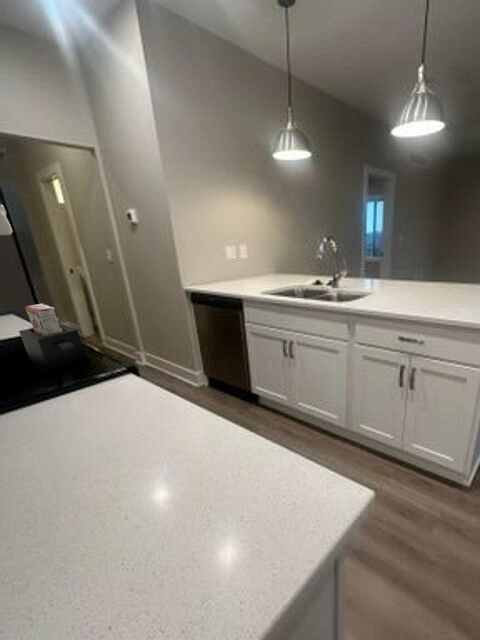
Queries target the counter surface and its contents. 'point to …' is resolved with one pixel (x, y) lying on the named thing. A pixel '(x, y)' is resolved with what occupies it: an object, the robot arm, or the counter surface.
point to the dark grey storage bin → (54, 350)
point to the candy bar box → (43, 319)
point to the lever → (64, 346)
